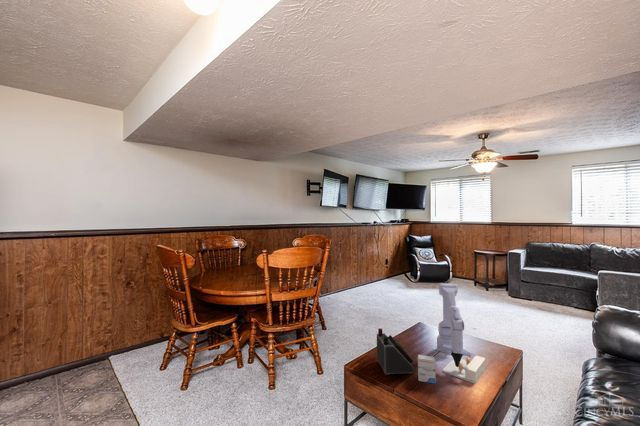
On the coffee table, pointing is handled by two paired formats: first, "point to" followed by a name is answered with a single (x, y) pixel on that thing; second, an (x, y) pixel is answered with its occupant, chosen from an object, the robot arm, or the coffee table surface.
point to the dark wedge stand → (392, 355)
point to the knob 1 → (461, 367)
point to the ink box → (426, 369)
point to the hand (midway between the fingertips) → (457, 366)
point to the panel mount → (467, 369)
